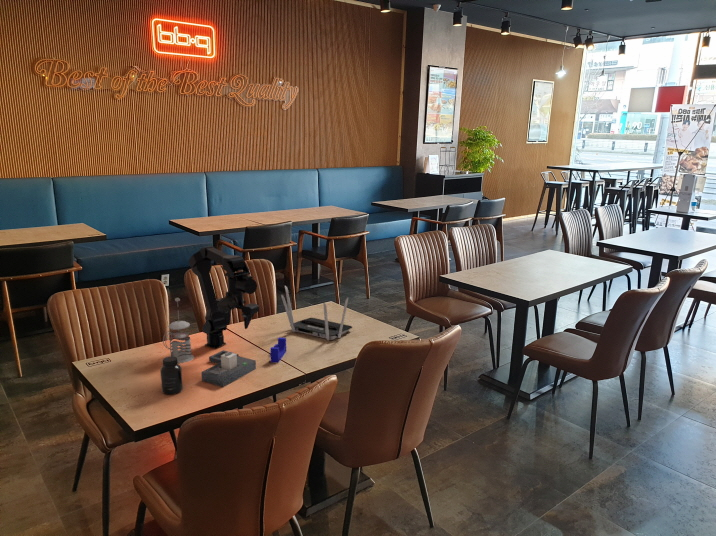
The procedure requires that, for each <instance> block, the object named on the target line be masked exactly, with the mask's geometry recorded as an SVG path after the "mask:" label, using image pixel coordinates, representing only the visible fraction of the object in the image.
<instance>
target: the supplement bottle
mask: <svg viewBox="0 0 716 536" xmlns="http://www.w3.org/2000/svg"><path fill="white" fill-rule="evenodd" d="M159 371H160V381H161V391H162V393H163V394H164V395H167V396H168V395H169V396H172V395H177V394H179V393H180V392H182V391H183V389H184V388H183V375H182V374H183V373H182V366H181V364H180V363H178V361H177V357H175V356H171V355H169V356H166V357H163V358H162V366H161V368H160V370H159Z"/></svg>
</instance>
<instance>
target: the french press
mask: <svg viewBox="0 0 716 536" xmlns="http://www.w3.org/2000/svg"><path fill="white" fill-rule="evenodd" d="M174 301H175V302H176V303H177V304H176V305H177V306H179V302H180V301H181V299H180V298H179V297H175V298H174ZM179 314H180V313H179V311H177V318H178V320H177V321H176V320H175V321H173V322H171V323H170V324H168V326H167V327H168V328H169V330H167V331H166V332H165V333H164V335H163V338H162V344H163V346H164V347H165V348H166V349H168V350H169V352H170V353H169V354H170V356H175V357H177V361H178V364H184V363H189V362H190V361H193V360H194V359H195V355H193V354H192V345H191V344H192V343H191V337H190V333H189V332H185V331H182V332H181V331H180V330H184V329H188V328H190V325H191V324H190V323H189V322H188V321H185V320H180V315H179ZM170 330H172V331H173V330H175V331H176V330H177V331H178V332H174V333H173V332H172V331H170ZM169 335H170V338H169V347H168V345H167V337H168V336H169ZM165 336H166V337H165Z"/></svg>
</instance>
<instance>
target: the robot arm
mask: <svg viewBox="0 0 716 536" xmlns="http://www.w3.org/2000/svg"><path fill="white" fill-rule="evenodd" d="M212 262H215V263H217V264H219V265H221V268H222V270H224V271H225V272H226V273H224V277H227V291H225V297H220V298H217V295H216V290H215V288H214V284H213V280H212V277H211V270H212V267H213V266H212ZM188 264H189V267H190V269H191V271H192V273H193V274H194V275H195V276H197V278H198V282H199V285H200V288H201V292H202V297H203V301H204V304H205V308H206V313H205V317H204V320H205V322H204V324H203V325H202V327H201V330H202V333H204V334H206V343H205V344H204V347H208V348H212V349H214V350H215V349H218V348H221V347H223V346H224V345H227V343H226V342H225V340H224V339H225V337H224V336H225V335H224V332H225V331H227V328H228V325H230V324H231V316H232V310H234V309H238V310H241V312H242V313H241V316H242V317H243V324H244V329H245V330H247V329H248V328H249V325H250V323H251V321H252V318H253V317H254V316H255V314H257V313H258V312H260V306H259V305H258V304H256V303H251V302H250V303H247V304H246V302H247V301H246V300H245V299H244V294H247V295H252V294H254V293H256V291H257V289H258V283H257V281H256V280H255V279H253V275H251V272H250V268H249V267H248V265H247V262H246V261H245V259H244V257H243V256H240V255H233V254H232V255H231V254H228V253H226V252H223V251H222V250H220V249H218V248H216V247H215V246H212V245H210V246H204V247H201V248H200V249H199V250H198V251H197V252H195V253H194V254H193V255H191V256H190V258H189V259H188Z"/></svg>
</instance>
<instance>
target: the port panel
mask: <svg viewBox="0 0 716 536" xmlns="http://www.w3.org/2000/svg"><path fill="white" fill-rule="evenodd" d="M255 370H257V361H256V359H255V360H254V359H251V358H248V357H244V356H237V367H235V368H233V369H231V370H227V369H224V368H221V362H220V363H218V364H216V363H215V365H212V366H210V367H208V368H207V369H204V370H203V371H201V381H202V382H205V383H207V384H212V385H214V386H217V387H221V388H224V387H227V386H228V385H230V384H232V383H233V382H235V381H237V380H239V379H241V378H243V377H245V376H246V375H248V374H250V373H252V372H253V371H255Z"/></svg>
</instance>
